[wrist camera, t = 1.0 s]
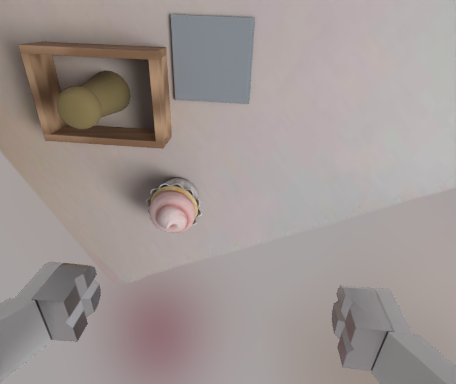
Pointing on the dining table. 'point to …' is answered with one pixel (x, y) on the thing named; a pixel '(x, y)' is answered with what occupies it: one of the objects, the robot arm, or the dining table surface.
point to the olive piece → (93, 100)
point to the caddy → (60, 131)
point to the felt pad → (212, 58)
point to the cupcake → (174, 205)
